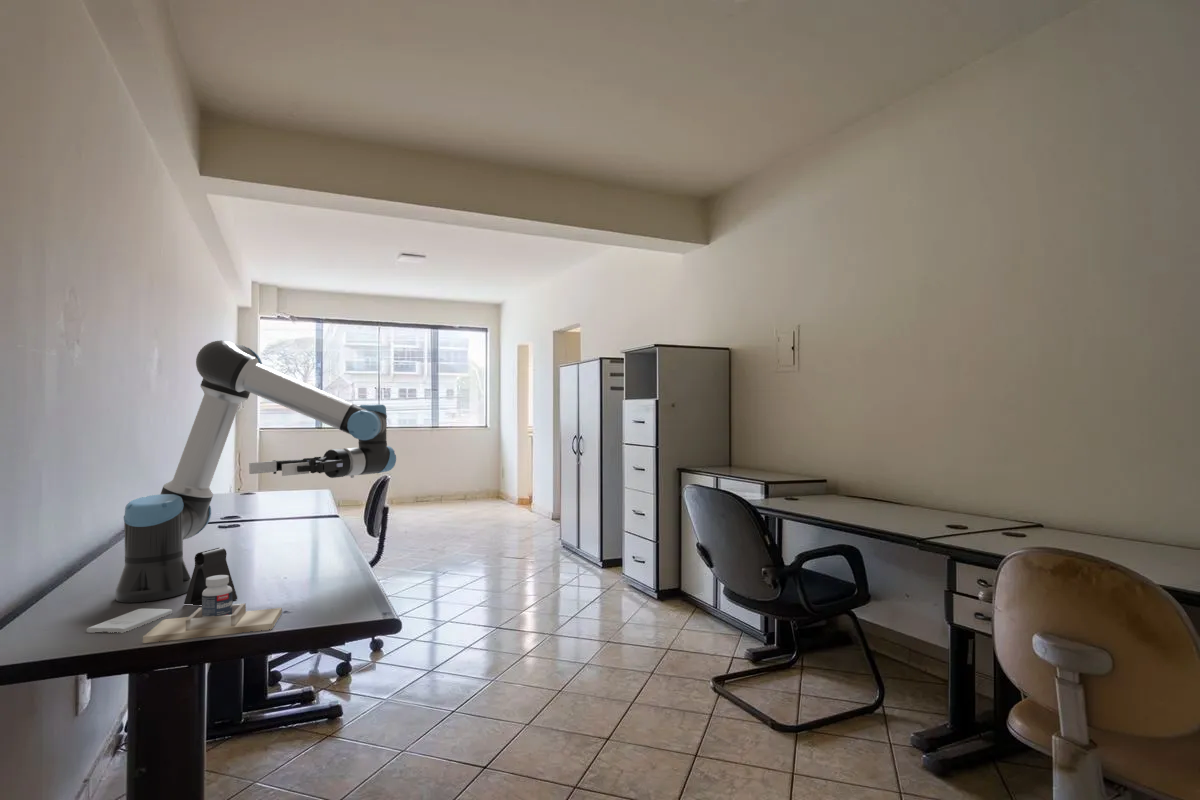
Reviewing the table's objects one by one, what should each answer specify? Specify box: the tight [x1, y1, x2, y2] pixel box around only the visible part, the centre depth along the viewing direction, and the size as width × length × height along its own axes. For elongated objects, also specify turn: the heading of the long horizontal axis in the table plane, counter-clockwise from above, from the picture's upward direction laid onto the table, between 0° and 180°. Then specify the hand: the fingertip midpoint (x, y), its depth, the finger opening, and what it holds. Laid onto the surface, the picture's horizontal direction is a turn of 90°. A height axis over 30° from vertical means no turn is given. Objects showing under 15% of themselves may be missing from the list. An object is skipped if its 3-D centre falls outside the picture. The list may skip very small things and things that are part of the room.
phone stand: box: [183, 547, 238, 605], centre depth 147 cm, size 9×6×12 cm, turn 76°
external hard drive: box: [86, 608, 173, 634], centre depth 133 cm, size 2×8×12 cm
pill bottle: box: [201, 575, 233, 617], centre depth 129 cm, size 5×5×9 cm
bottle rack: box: [142, 603, 283, 644], centre depth 129 cm, size 22×11×3 cm, turn 107°
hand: (265, 469), depth 153 cm, fingers open, 13 cm apart
